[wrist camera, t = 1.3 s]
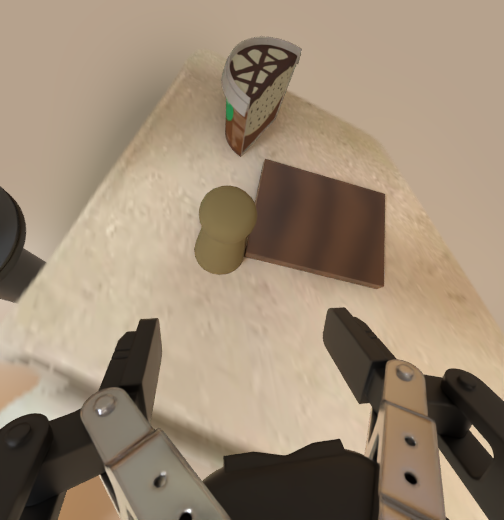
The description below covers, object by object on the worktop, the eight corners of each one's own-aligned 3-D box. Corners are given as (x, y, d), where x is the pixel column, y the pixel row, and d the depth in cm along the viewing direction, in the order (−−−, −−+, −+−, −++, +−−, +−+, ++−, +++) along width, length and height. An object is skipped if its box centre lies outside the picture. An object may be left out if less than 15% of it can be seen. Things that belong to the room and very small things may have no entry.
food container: (247, 91, 42) (262, 18, 33) (280, 114, 42) (304, 46, 33) (198, 138, 38) (199, 67, 29) (234, 163, 38) (247, 101, 28)
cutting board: (243, 256, 34) (245, 252, 32) (262, 165, 39) (265, 158, 37) (376, 289, 36) (384, 286, 34) (378, 199, 41) (385, 193, 39)
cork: (202, 280, 32) (205, 245, 21) (188, 233, 33) (185, 180, 23) (250, 267, 33) (275, 229, 23) (235, 223, 35) (253, 169, 25)
